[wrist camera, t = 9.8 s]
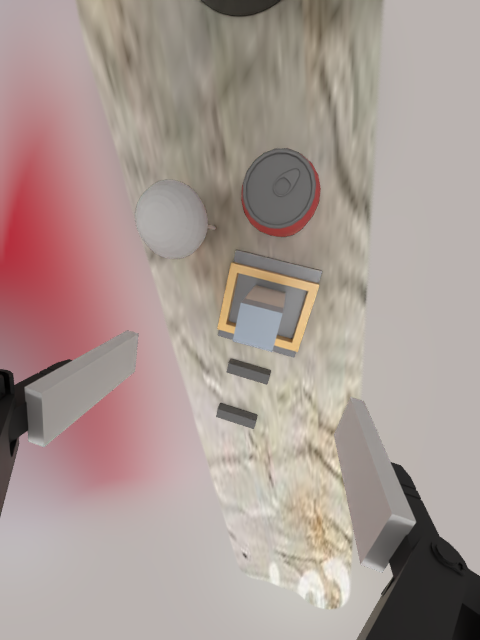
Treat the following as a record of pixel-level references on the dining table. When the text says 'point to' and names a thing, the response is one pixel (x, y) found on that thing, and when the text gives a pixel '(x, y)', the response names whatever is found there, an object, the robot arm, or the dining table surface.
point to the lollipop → (171, 219)
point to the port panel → (278, 277)
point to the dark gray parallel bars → (249, 373)
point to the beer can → (280, 192)
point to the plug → (259, 318)
